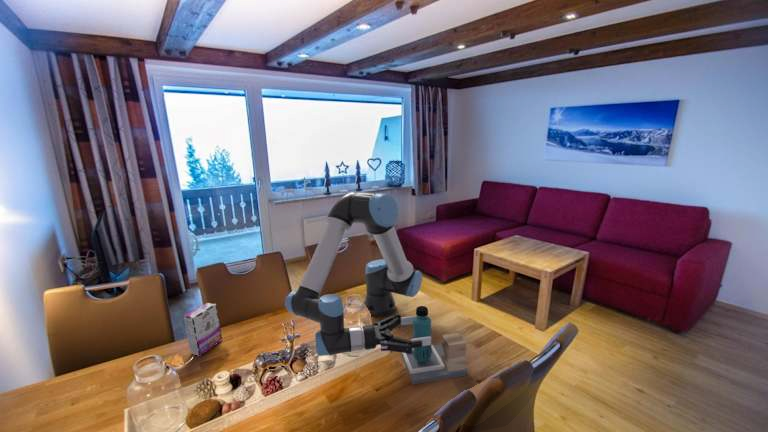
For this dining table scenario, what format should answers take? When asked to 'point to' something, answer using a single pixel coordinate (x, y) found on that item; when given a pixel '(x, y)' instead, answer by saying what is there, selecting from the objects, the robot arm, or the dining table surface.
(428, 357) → the beverage bottle
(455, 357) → the wooden pillar
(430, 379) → the board
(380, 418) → the dining table surface
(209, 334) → the candy bar box
